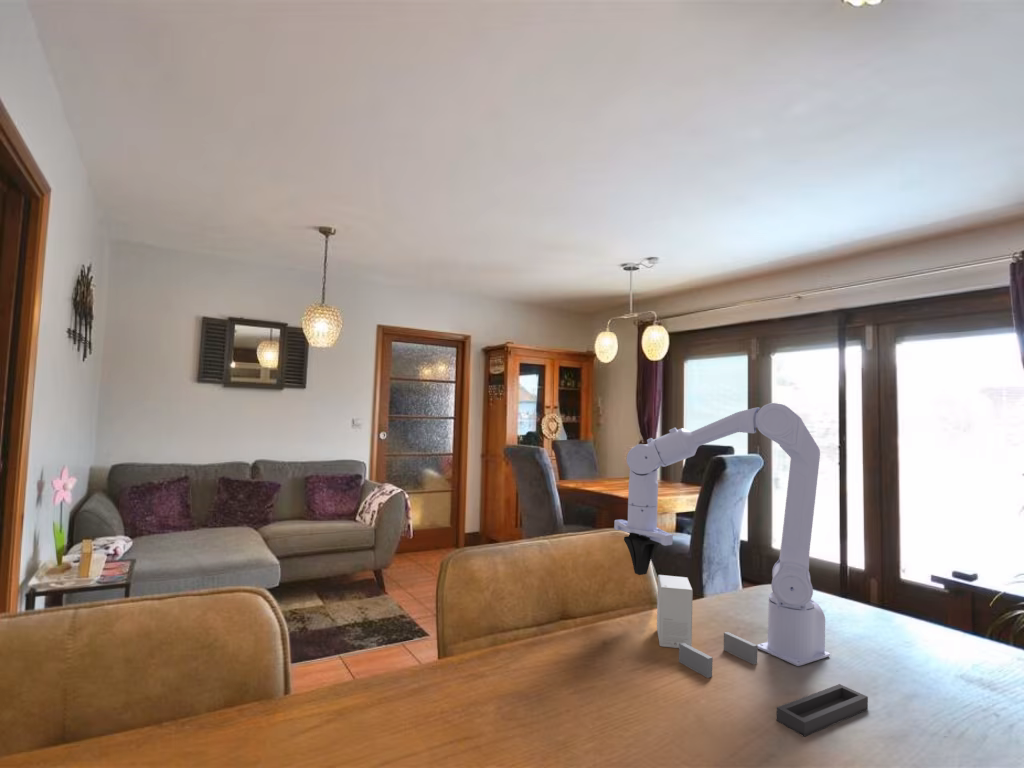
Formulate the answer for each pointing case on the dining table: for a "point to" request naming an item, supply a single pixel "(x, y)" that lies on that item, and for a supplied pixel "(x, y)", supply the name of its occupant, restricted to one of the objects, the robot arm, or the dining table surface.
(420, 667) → the dining table surface
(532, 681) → the dining table surface
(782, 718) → the tray
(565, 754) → the dining table surface
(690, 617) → the small box
